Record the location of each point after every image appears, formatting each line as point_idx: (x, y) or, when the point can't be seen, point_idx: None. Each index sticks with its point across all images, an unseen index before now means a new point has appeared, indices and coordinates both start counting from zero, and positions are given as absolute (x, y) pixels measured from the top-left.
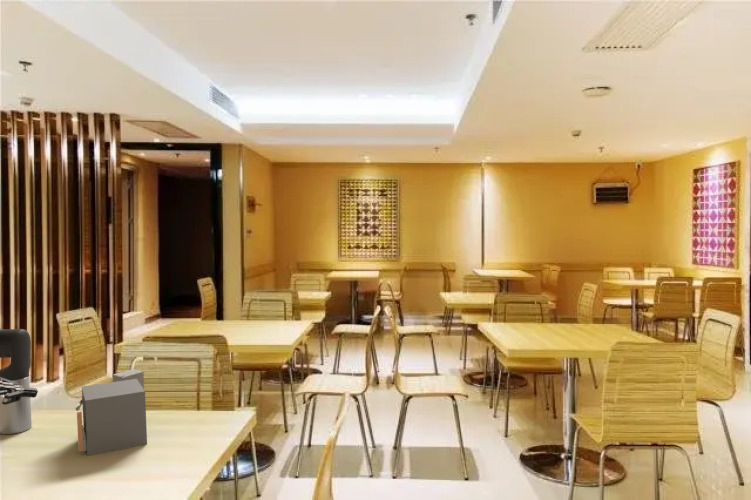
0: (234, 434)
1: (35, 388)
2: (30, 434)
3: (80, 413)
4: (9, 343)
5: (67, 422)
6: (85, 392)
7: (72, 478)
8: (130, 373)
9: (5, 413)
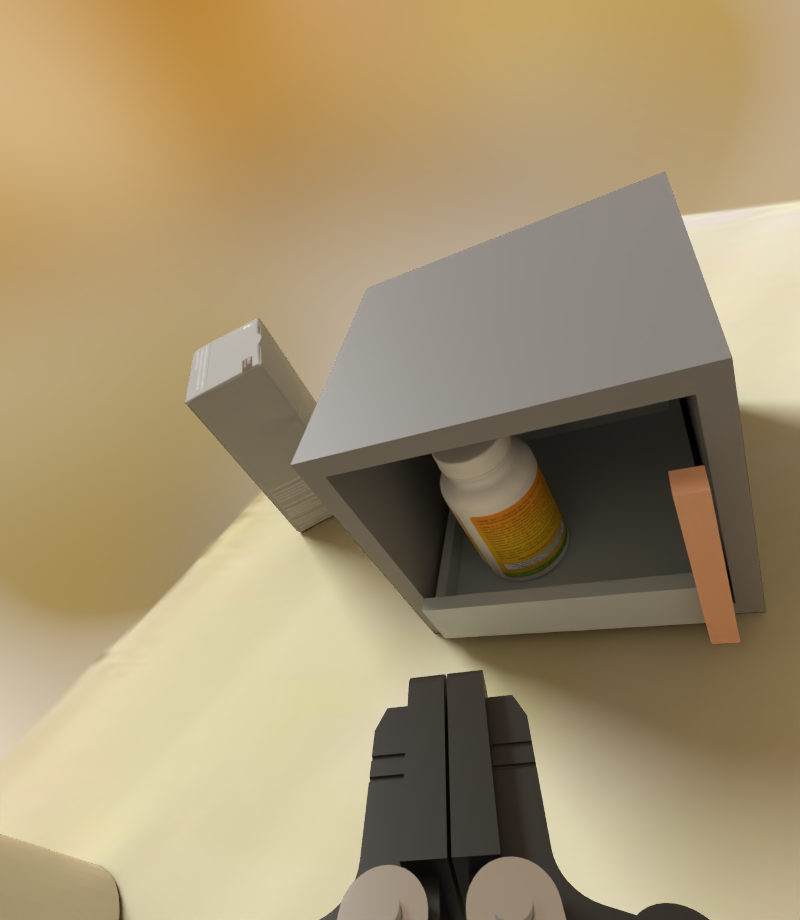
0: (742, 209)
1: (419, 684)
2: (188, 888)
3: (705, 475)
4: None
5: (189, 698)
6: (460, 414)
7: None
8: (240, 347)
9: None
